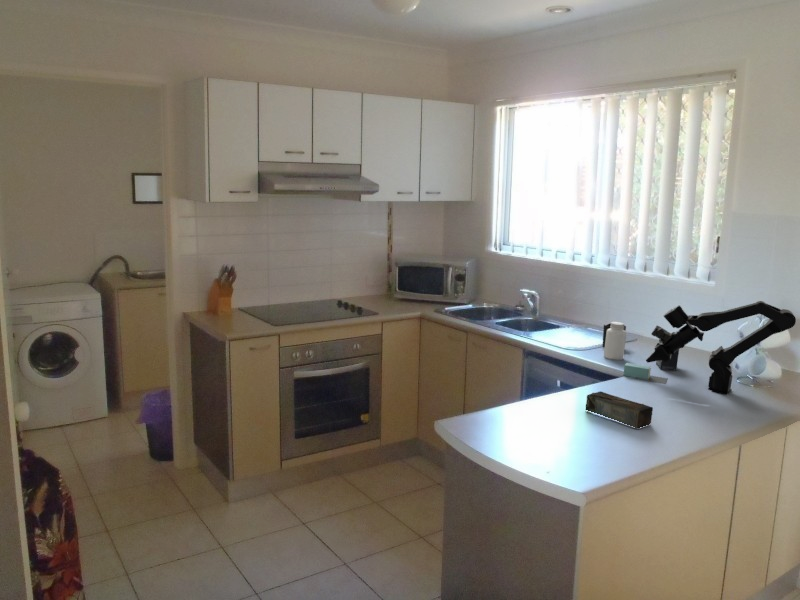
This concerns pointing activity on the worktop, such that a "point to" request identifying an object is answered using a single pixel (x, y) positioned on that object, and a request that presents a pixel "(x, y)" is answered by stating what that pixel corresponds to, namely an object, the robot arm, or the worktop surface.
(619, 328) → the pill bottle
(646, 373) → the block
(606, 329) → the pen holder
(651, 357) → the robot arm
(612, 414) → the dark wooden bar
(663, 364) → the small box
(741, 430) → the worktop surface
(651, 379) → the mat
